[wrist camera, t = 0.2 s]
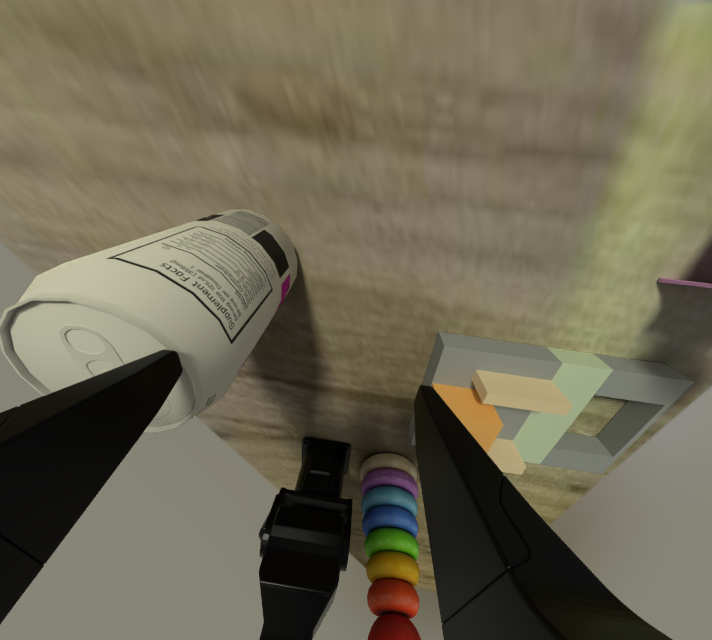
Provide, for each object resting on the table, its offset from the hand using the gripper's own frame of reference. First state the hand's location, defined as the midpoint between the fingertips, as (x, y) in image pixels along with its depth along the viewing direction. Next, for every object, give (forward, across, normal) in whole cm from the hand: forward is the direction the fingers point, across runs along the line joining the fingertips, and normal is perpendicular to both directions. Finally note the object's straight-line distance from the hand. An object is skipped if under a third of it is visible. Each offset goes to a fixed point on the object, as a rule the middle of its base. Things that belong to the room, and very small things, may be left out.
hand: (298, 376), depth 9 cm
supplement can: (+15, +8, +1) cm, 17 cm away
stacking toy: (+14, -9, +29) cm, 34 cm away
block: (+12, -12, +13) cm, 22 cm away
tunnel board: (+14, -21, +13) cm, 28 cm away
